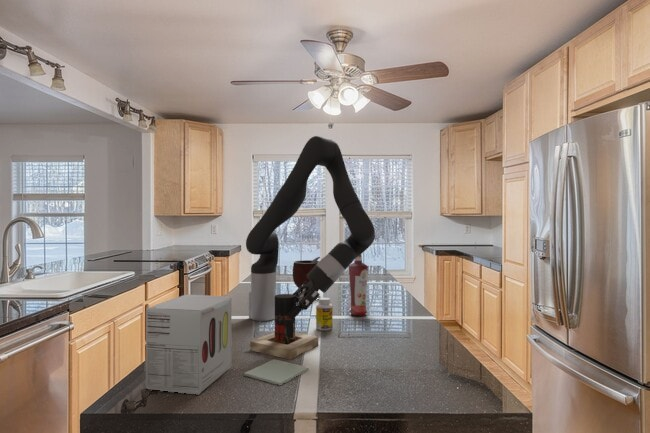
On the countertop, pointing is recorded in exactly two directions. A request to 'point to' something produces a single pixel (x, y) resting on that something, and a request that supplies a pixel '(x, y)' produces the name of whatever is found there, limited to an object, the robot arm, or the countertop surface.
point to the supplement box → (188, 343)
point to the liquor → (358, 287)
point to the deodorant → (284, 319)
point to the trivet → (276, 371)
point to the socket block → (284, 345)
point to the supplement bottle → (324, 314)
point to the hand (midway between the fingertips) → (287, 313)
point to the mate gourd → (303, 271)
